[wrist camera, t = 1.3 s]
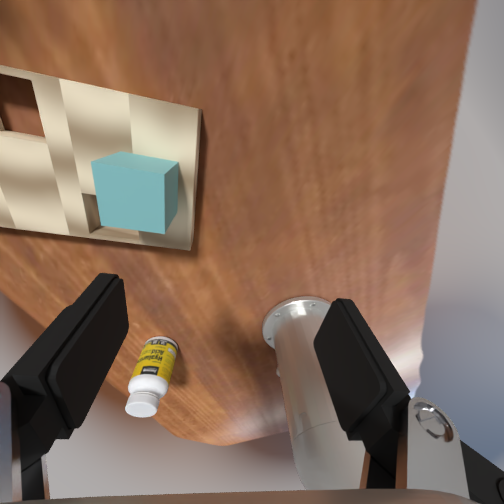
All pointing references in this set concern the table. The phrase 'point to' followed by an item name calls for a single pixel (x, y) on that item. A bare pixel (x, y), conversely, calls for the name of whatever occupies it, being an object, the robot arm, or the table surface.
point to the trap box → (89, 149)
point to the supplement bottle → (151, 376)
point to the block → (136, 191)
